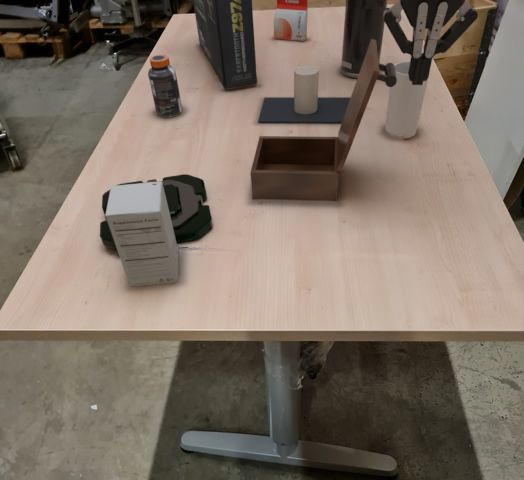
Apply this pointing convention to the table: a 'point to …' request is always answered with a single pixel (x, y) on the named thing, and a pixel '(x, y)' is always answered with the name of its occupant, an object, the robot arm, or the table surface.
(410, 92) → the white cylindrical cup
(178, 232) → the clover-shaped pad
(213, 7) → the box
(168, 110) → the pill bottle
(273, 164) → the bread bin
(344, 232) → the table surface
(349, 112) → the bin lid
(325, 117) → the mat
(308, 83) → the canister
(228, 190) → the table surface
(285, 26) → the ink box
